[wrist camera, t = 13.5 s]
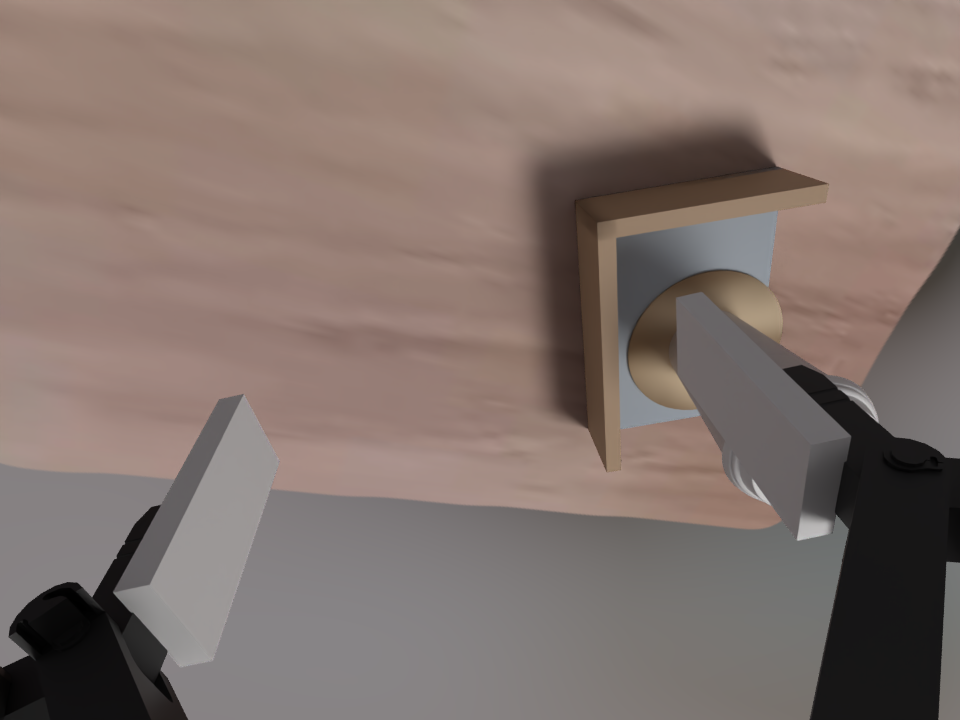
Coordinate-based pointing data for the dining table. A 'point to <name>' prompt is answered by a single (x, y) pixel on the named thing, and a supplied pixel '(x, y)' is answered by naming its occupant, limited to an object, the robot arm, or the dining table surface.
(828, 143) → the dining table surface
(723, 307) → the pad
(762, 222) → the tray
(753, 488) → the coffee cup
